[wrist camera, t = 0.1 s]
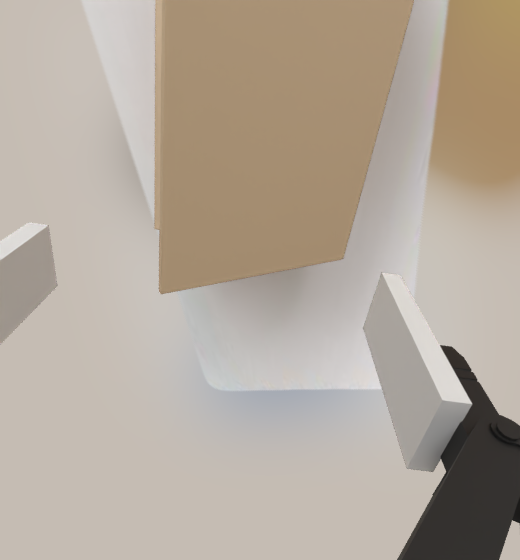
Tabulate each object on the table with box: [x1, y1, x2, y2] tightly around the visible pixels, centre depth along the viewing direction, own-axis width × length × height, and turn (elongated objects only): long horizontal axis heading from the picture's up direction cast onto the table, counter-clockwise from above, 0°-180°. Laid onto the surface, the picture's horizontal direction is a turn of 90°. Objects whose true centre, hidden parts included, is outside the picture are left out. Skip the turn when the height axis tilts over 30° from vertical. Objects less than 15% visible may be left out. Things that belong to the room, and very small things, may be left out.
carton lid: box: [159, 0, 414, 294], centre depth 23 cm, size 24×16×1 cm
